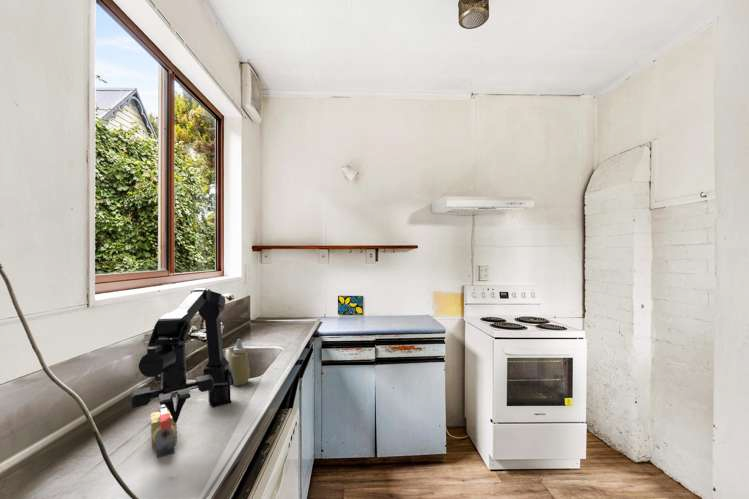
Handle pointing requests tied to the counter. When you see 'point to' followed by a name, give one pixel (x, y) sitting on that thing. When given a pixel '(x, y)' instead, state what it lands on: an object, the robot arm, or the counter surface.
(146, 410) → the counter surface
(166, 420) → the valve lever
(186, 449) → the counter surface
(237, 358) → the squeeze bottle
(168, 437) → the valve body
